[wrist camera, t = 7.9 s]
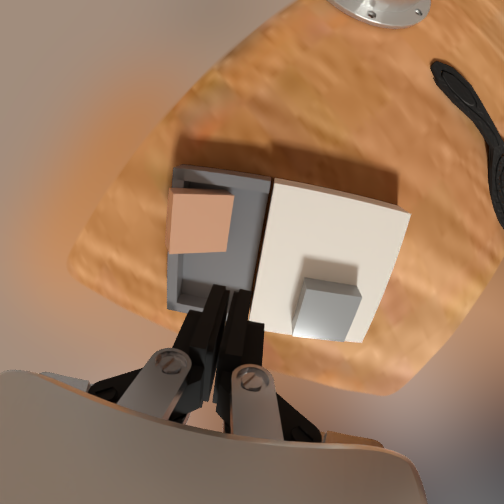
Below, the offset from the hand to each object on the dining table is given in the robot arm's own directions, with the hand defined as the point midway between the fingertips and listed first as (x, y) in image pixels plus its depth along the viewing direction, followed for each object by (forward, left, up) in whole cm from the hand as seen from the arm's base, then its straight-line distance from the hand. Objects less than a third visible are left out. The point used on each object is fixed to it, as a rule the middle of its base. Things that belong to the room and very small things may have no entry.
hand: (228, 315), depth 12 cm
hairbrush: (-13, +25, -16) cm, 32 cm away
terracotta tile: (0, -4, -11) cm, 12 cm away
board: (+3, +7, -15) cm, 17 cm away
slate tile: (+6, +8, -12) cm, 15 cm away
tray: (+3, -3, -15) cm, 16 cm away
